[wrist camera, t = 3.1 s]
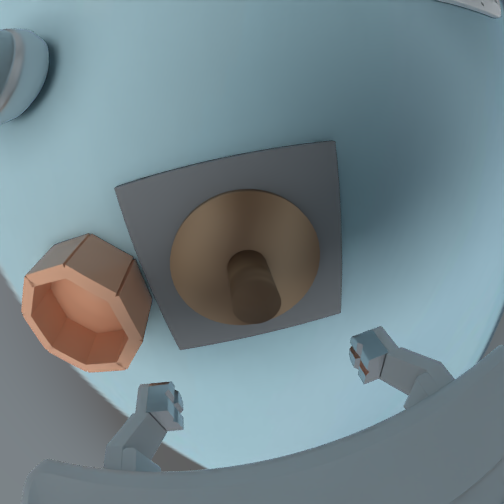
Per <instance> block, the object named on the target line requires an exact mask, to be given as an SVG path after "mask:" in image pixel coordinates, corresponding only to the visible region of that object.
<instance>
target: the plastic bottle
mask: <svg viewBox="0 0 504 504" xmlns="http://www.w3.org/2000/svg"><path fill="white" fill-rule="evenodd" d="M48 67H49V51H48V47H47V44H46V42H45V41H44V40H43V39H42V38H41V37H39V36H38V35H37V34H36V33H34V32H33V31H31V30H27V29H16V28H13V29H0V125H1V124H3V123H6V122H8V121H10V120H13V119H15V118H17V117H18V116H19V115H21V114H22V113H23V112H24V111H25V110H26V109H27V108H28V107H29V106H30V104H31V103H32V102H33V101H34V99H35V98H36V97H37V95H38V94H39V92H40V90H41V88H42V86H43V84H44V82H45V79H46V76H47V72H48Z"/></svg>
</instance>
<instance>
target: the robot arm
mask: <svg viewBox="0 0 504 504" xmlns="http://www.w3.org/2000/svg"><path fill="white" fill-rule="evenodd" d="M438 1H442V2H446V3H450V4H454V5H457V6H461V7H464V8H468V9H471V10H474V11H477V12H480V13H482V14H485V15H488V16H491V17H493V18H500V17H501V8H500V3H499V0H438ZM350 343H351V345H352V346H351V348H350V349H349V356H350V360H351V363H352V365H353V366H354V368H357V369H359V371H358V375H359V377H360V379H361V380H362V382H363V384H366V383H369V382H371V381H374V380H376V379H379V378H380V379H381V380H383V381H384V382H386V383H388V384H389V385H391V386H393V387H395V388H396V389H398V390H400V391H402V392H403V393H405V394H407V395H409V396H408V398H407V400H406V402H405V404H404V408H405V409H406V410H404V411H402V412H400V413H398V414H396V415H394V416H392V417H390V418H388V419H386V420H384V421H382V422H379V423H377V424H375V425H373V426H371V427H368V428H366V429H364V430H361V431H359V432H356V433H354V434H351V435H349V436H346V437H344V438H341V439H338V440H335V441H333V442H330V443H327V444H324V445H321V446H318V447H315V448H311V449H308V450H305V451H301V452H298V453H294V454H290V455H286V456H282V457H278V458H274V459H269V460H265V461H260V462H255V463H249V464H244V465H238V466H231V467H224V468H215V469H206V470H194V471H177V472H176V471H175V472H161V468H160V467H159V466H158V465H156V464H155V463H154V462H152V461H151V459H152V458H153V456H154V454H155V452H156V451H157V449H158V447H159V445H160V444H161V442H162V440H163V438H164V437H165V435H166V433H167V432H166V431H175V430H183V429H184V421H183V416H182V415H181V414H180V413H181V412H182V411H183V401H182V397H181V395H180V393H179V392H178V391H177V390H175V386H174V384H173V383H172V382H162V383H151V384H141V385H140V386H139V388H138V396H137V403H136V411H135V413H134V414H132V415H131V416H130V417H129V419H128V420H127V421H126V422H125V424H124V425H123V426H122V427H121V428H120V430H119V431H118V432H117V433H116V435H115V436H114V437H113V438H112V440H111V441H110V442H109V443H108V444H107V446H106V452H105V460H104V469H101V468H95V467H87V466H80V465H76V464H70V463H65V462H61V461H56V460H52V459H44V460H43V461H41V462H40V463H39V464H38V465H37V466H36V467H35V468H34V469H33V470H32V471H31V472H30V473H29V474H28V476H27V478H26V481H25V484H24V488H23V494H22V499H21V504H504V345H500V346H498V347H497V348H495V349H494V350H493V351H492V352H491V353H489V354H488V355H487V356H486V357H485V358H483V359H482V360H481V361H479V362H478V363H477V364H476V365H474V366H473V367H472V368H470V369H469V370H468V371H466V372H465V373H464V374H462V375H461V376H459V377H458V378H456V379H454V378H453V377H452V375H451V374H450V373H449V372H448V370H447V369H446V368H445V366H444V365H443V364H442V363H441V362H439V361H436V360H434V359H431V358H428V357H426V356H423V355H421V354H418V353H415V352H413V351H410V350H408V349H405V348H402V347H400V348H398V346H397V345H396V344H395V343H394V341H393V340H392V339H391V337H390V336H389V335H388V334H387V332H386V331H385V330H384V329H383V327H381V326H379V327H377V328H374V329H371V330H368V331H366V332H363V333H361V334H358V335H355V336H353V337H351V340H350Z"/></svg>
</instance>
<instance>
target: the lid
mask: <svg viewBox="0 0 504 504" xmlns="http://www.w3.org/2000/svg"><path fill="white" fill-rule="evenodd" d="M319 262H320V247H319V241H318V237H317V234H316V232H315V230H314V228H313V225H312V224H311V222H310V221H309V220H308V218H307V217H306V216H305V215H304V214H303V213H302V212H301V211H300V209H299V208H298V207H296V206H295V205H294V204H293V203H291V202H290V201H289V200H287V199H285V198H283V197H282V196H279V195H277V194H274V193H272V192H268V191H264V190H257V189H239V190H232V191H228V192H225V193H221V194H218V195H216V196H214V197H212V198H210V199H208V200H206V201H205V202H203V203H201V204H200V205H199V206H198V207H196V208H195V209H194V210H193V211H192V212H191V213H190V214H189V215H188V216H187V217H186V218H185V220H184V221H183V223H182V224H181V226H180V227H179V229H178V231H177V233H176V236H175V239H174V242H173V245H172V249H171V255H170V271H171V277H172V280H173V283H174V286H175V288H176V290H177V292H178V293H179V295H180V296H181V298H182V299H183V300H184V302H185V303H186V304H187V305H188V306H189V307H190V308H192V309H193V310H194V311H195V312H197V313H199V314H200V315H202V316H204V317H206V318H208V319H210V320H213V321H216V322H219V323H224V324H230V325H251V324H259V323H263V322H266V321H268V320H270V319H273V318H275V317H277V316H279V315H281V314H283V313H285V312H286V311H288V310H289V309H291V308H292V307H293V306H294V305H296V304H297V303H298V302H299V301H300V300H301V299H302V298H303V297H304V295H305V294H306V293H307V292H308V290H309V289H310V287H311V285H312V284H313V282H314V279H315V277H316V275H317V271H318V268H319Z"/></svg>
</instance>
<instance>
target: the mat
mask: <svg viewBox="0 0 504 504" xmlns="http://www.w3.org/2000/svg"><path fill="white" fill-rule="evenodd" d="M114 189H115V192H116V195H117V199H118V202H119V205H120V208H121V211H122V214H123V217H124V220H125V223H126V226H127V229H128V232H129V234H130V237H131V240H132V243H133V245H134V248H135V251H136V253H137V256H138V258H139V261H140V263H141V266H142V268H143V271H144V273H145V276H146V278H147V281H148V283H149V285H150V288H151V290H152V292H153V295H154V297H155V299H156V301H157V304H158V306H159V308H160V310H161V312H162V315H163V317H164V319H165V321H166V323H167V325H168V327H169V329H170V331H171V333H172V335H173V337H174V339H175V341H176V343H177V345H178V347H179V349H180V350H183V349H189V348H195V347H200V346H206V345H211V344H217V343H222V342H227V341H232V340H237V339H241V338H246V337H250V336H255V335H259V334H264V333H268V332H272V331H276V330H280V329H284V328H288V327H292V326H296V325H300V324H303V323H307V322H311V321H314V320H318V319H322V318H325V317H328V316H332V315H335V314H339V313H341V287H342V239H341V210H340V191H339V177H338V165H337V154H336V144H335V141H323V142H314V143H306V144H299V145H291V146H285V147H278V148H272V149H266V150H260V151H254V152H249V153H244V154H238V155H233V156H228V157H224V158H219V159H214V160H210V161H206V162H201V163H197V164H193V165H189V166H185V167H181V168H177V169H173V170H169V171H166V172H162V173H159V174H155V175H152V176H148V177H145V178H141V179H138V180H135V181H132V182H128V183H125V184H122V185H119V186H117V187H115V188H114ZM239 189H257V190H264V191H268V192H272V193H274V194H277V195H279V196H282V197H283V198H285V199H287V200H289V201H290V202H291V203H293V204H294V205H295V206H296V207H298V208H299V209H300V211H301V212H302V213H303V214H304V215H305V216H306V217H307V218H308V220H309V221H310V222H311V224H312V225H313V228H314V230H315V232H316V234H317V237H318V241H319V247H320V262H319V268H318V271H317V275H316V277H315V279H314V282H313V284H312V285H311V287H310V289H309V290H308V292H307V293H306V294H305V295H304V297H303V298H302V299H301V300H300V301H299V302H298V303H297V304H296V305H294V306H293V307H292V308H291V309H289V310H288V311H286V312H285V313H283V314H281V315H279V316H277V317H275V318H273V319H270V320H268V321H266V322H263V323H259V324H251V325H230V324H224V323H219V322H216V321H213V320H210V319H208V318H206V317H204V316H202V315H200V314H199V313H197V312H195V311H194V310H193V309H192V308H190V307H189V306H188V305H187V304H186V303H185V302H184V300H183V299H182V298H181V296H180V295H179V293H178V292H177V290H176V288H175V286H174V283H173V280H172V277H171V271H170V255H171V249H172V245H173V242H174V239H175V236H176V233H177V231H178V229H179V227H180V226H181V224H182V223H183V221H184V220H185V218H186V217H187V216H188V215H189V214H190V213H191V212H192V211H193V210H194V209H195V208H196V207H198V206H199V205H200V204H201V203H203V202H205V201H206V200H208V199H210V198H212V197H214V196H216V195H218V194H221V193H225V192H228V191H232V190H239Z"/></svg>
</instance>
